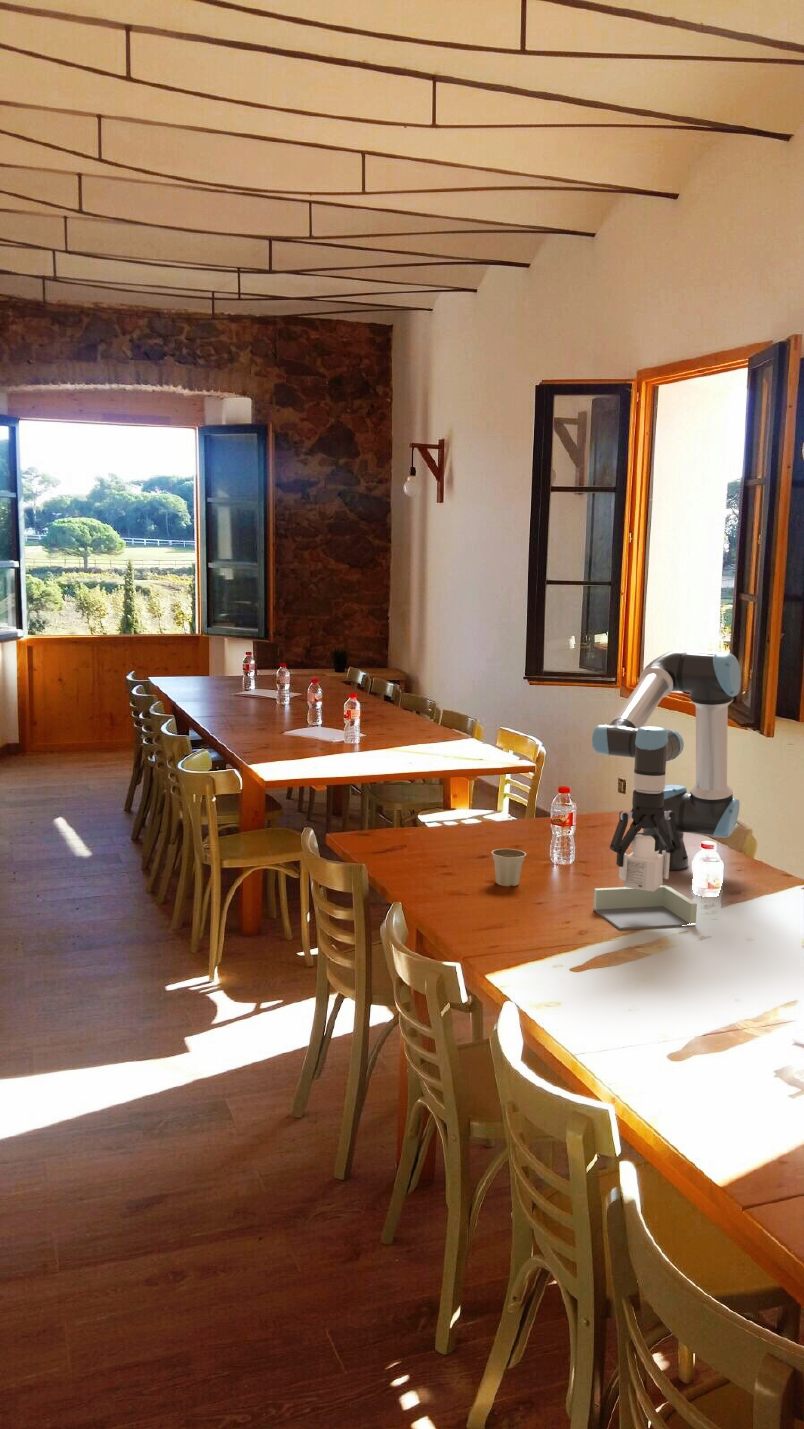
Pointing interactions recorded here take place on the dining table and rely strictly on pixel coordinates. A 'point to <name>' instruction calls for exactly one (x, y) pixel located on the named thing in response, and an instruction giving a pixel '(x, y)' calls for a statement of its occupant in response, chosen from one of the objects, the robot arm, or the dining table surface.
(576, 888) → the dining table surface
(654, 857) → the container
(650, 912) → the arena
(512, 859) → the flower pot
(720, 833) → the robot arm
